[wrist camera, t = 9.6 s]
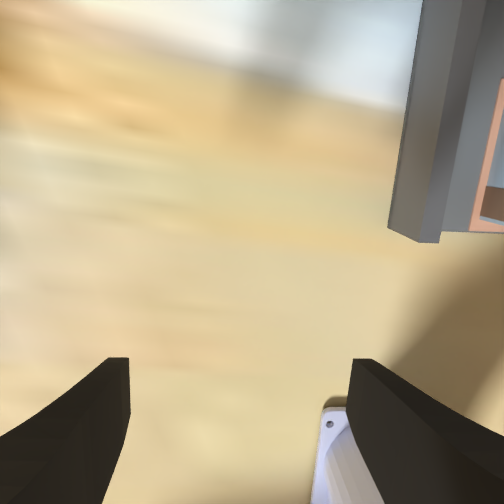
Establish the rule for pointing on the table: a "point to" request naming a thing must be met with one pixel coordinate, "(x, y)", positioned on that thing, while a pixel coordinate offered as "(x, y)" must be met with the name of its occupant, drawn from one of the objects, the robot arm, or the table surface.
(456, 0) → the tray
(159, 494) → the table surface
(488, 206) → the blue block
